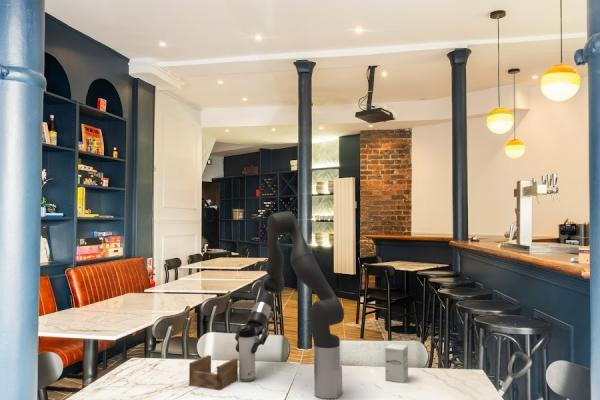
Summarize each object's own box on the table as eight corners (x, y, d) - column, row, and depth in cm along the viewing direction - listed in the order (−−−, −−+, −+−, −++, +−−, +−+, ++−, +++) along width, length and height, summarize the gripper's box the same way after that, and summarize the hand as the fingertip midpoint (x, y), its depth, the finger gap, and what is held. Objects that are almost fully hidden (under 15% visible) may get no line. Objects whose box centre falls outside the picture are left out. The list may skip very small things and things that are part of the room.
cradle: (237, 380, 180) (237, 358, 180) (220, 390, 169) (220, 367, 169) (208, 375, 186) (208, 355, 186) (189, 385, 175) (189, 363, 175)
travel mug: (253, 382, 177) (252, 329, 178) (237, 381, 178) (236, 328, 179) (258, 376, 183) (257, 325, 184) (242, 376, 184) (241, 325, 185)
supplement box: (384, 380, 177) (384, 347, 178) (390, 375, 184) (389, 343, 185) (403, 383, 174) (403, 349, 175) (408, 377, 181) (408, 345, 181)
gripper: (241, 309, 192) (225, 345, 180) (271, 311, 186) (257, 348, 174) (247, 319, 196) (233, 355, 185) (277, 322, 190) (264, 359, 179)
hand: (244, 351), depth 180 cm, fingers closed on travel mug, 6 cm apart
